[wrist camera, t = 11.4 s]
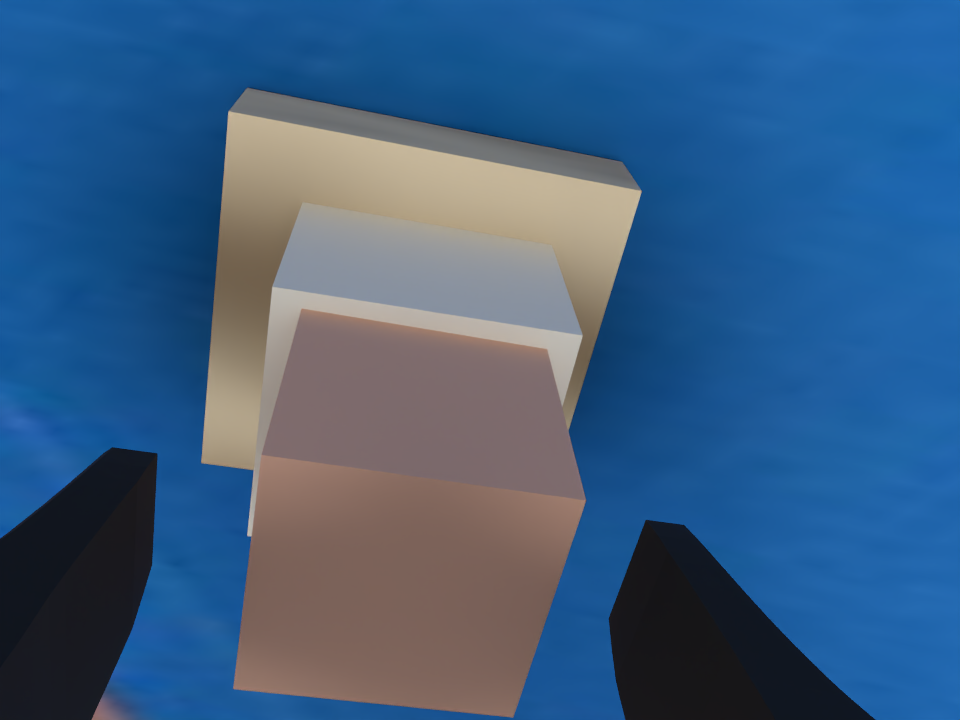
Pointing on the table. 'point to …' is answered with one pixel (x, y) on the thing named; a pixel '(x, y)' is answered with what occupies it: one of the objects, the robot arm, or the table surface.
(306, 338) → the terracotta cube
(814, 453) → the table surface
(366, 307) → the cream cube
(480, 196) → the oak slab
